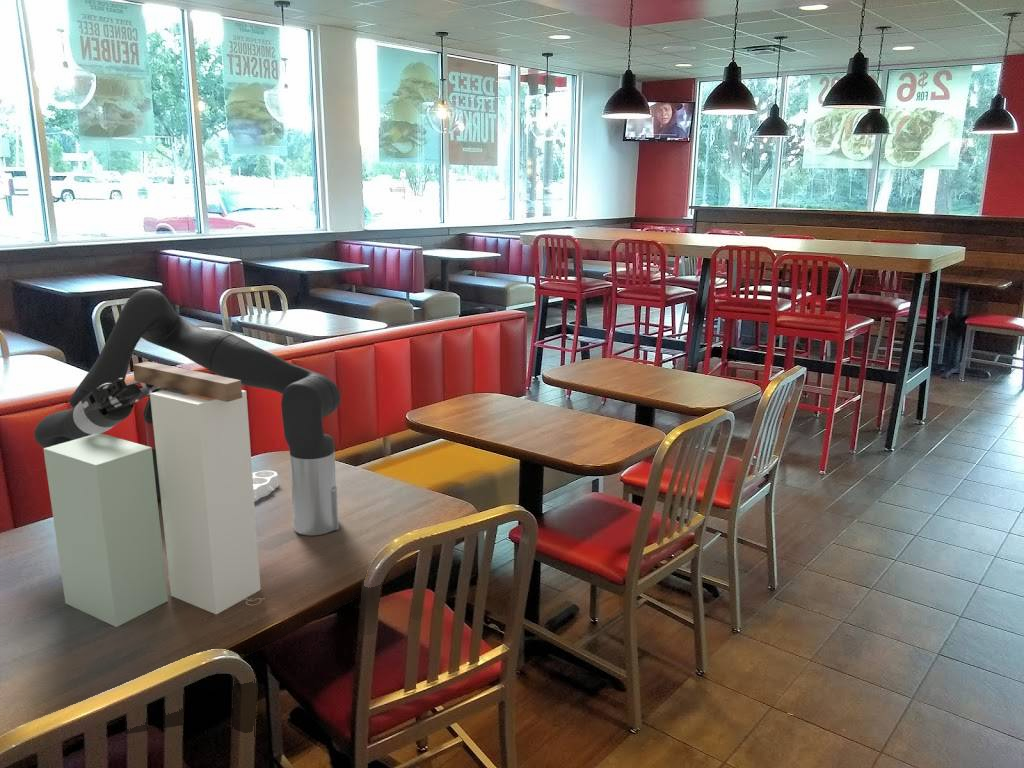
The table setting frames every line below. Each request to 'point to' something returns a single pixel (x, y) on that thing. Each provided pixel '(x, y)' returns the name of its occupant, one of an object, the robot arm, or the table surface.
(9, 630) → the table surface
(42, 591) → the table surface
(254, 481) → the white brass knuckles
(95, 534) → the step
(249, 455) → the stand
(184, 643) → the table surface
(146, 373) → the bar
